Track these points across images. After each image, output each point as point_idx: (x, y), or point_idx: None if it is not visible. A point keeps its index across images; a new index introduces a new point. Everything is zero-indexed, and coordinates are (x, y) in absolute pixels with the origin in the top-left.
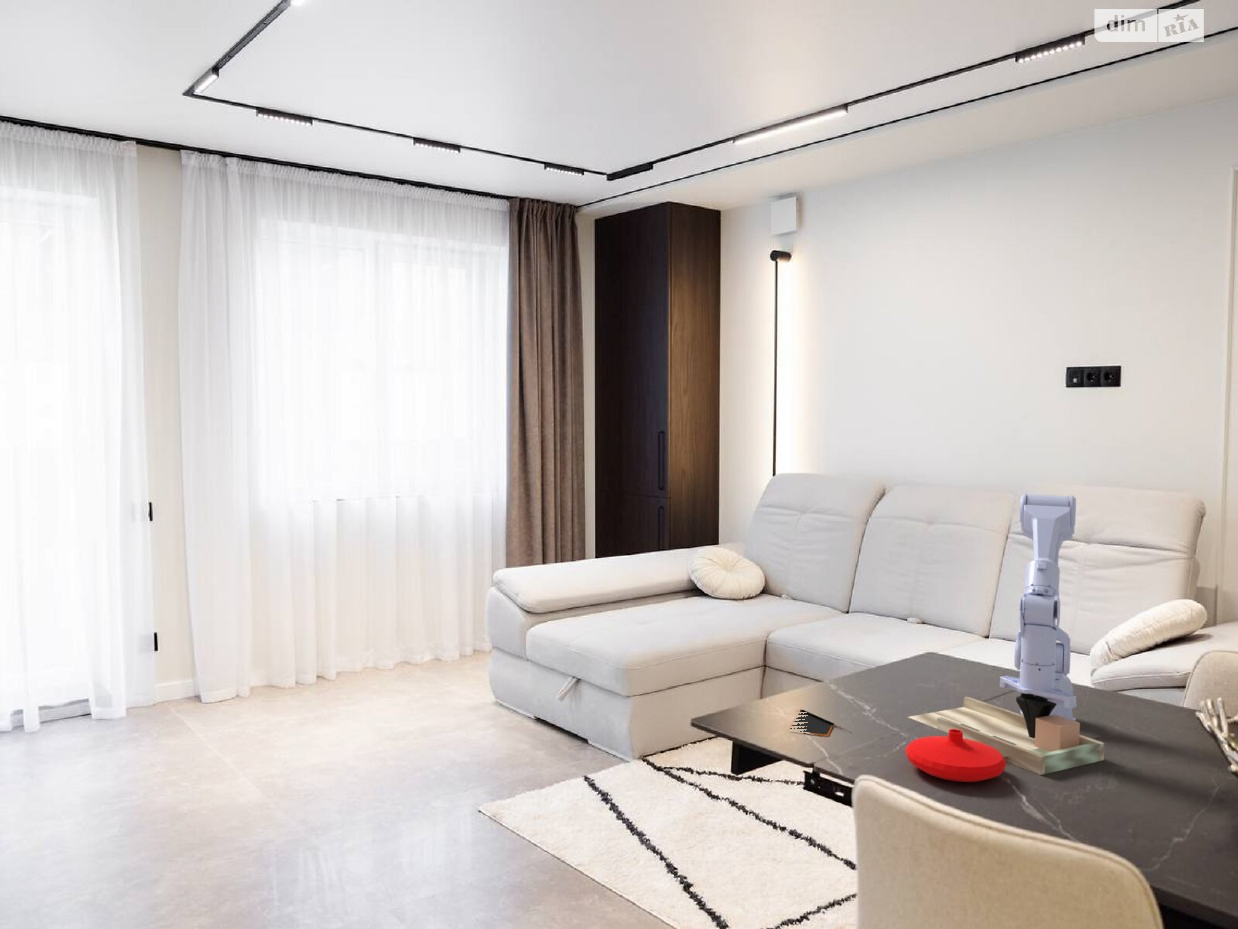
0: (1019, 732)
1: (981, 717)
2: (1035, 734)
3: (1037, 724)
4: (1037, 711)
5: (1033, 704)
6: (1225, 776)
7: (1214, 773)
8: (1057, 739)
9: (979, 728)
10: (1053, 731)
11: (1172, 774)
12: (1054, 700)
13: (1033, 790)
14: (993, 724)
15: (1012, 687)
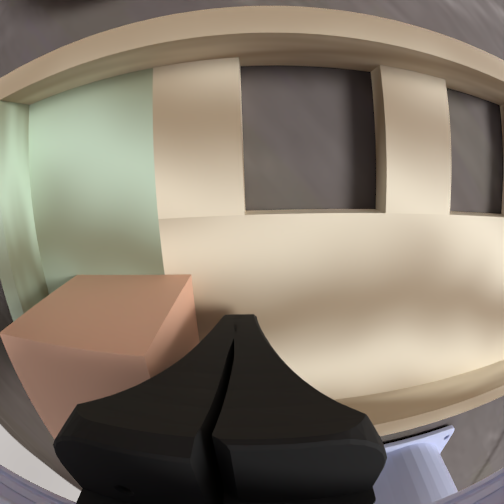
0: (354, 352)
1: (500, 334)
2: (173, 299)
3: (140, 331)
4: (112, 396)
5: (86, 419)
6: (23, 446)
7: (32, 449)
8: (51, 302)
9: (467, 234)
10: (50, 320)
11: (17, 407)
12: (29, 498)
13: (3, 21)
14: (457, 324)
15: (478, 498)
